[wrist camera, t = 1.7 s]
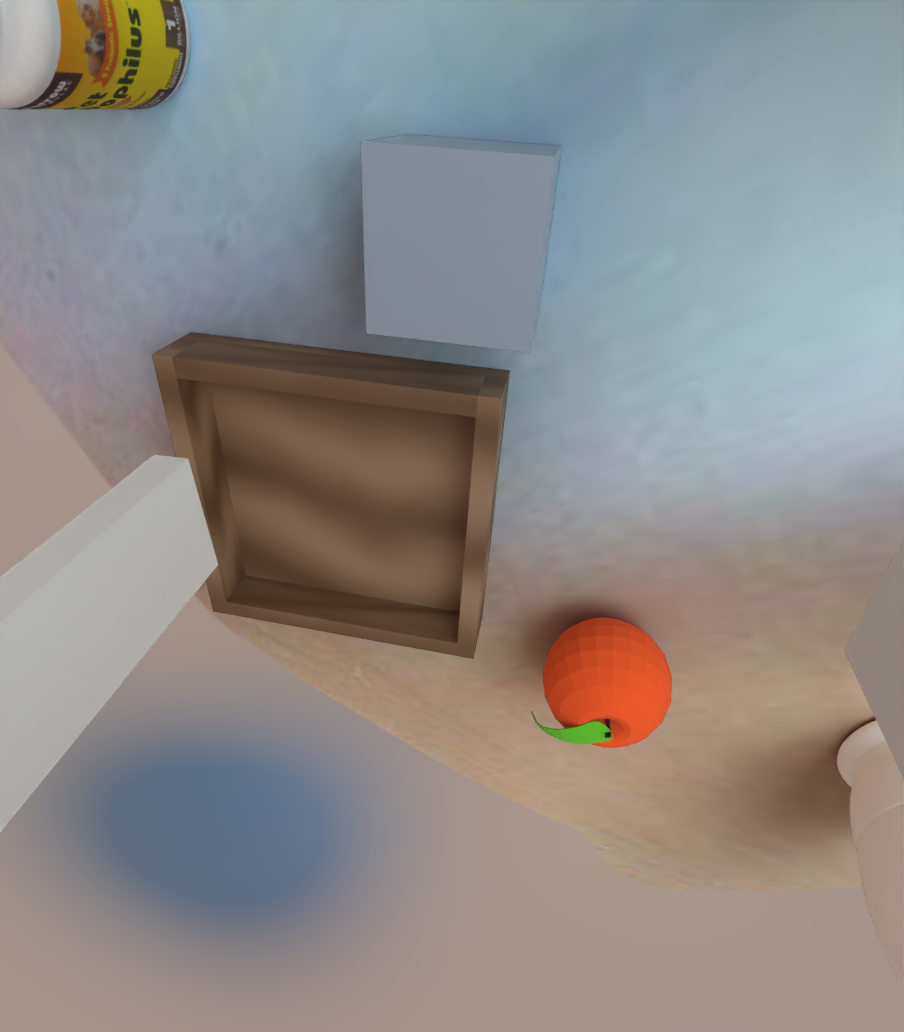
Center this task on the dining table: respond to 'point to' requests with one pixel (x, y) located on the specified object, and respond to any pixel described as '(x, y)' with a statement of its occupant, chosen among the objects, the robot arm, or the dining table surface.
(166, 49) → the supplement bottle
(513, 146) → the grey cube
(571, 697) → the clementine
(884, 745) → the jar
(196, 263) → the dining table surface
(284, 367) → the walnut tray
